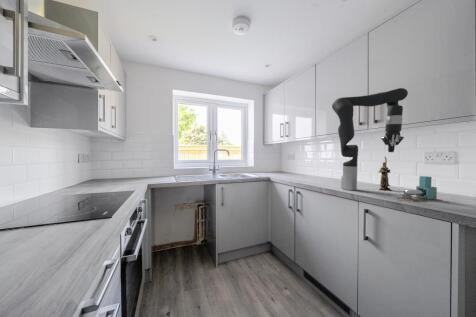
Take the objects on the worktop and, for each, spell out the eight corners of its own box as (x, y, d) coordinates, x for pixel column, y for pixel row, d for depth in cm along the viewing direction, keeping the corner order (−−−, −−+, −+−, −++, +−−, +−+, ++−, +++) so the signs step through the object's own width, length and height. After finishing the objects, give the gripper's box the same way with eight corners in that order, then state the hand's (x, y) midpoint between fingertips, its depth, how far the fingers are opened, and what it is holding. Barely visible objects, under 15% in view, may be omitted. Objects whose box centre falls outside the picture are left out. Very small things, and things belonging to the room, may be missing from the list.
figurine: (376, 189, 143) (377, 156, 143) (384, 188, 147) (385, 156, 147) (385, 191, 138) (386, 156, 137) (394, 190, 141) (395, 156, 141)
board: (411, 201, 106) (411, 200, 106) (397, 198, 114) (397, 197, 114) (442, 201, 108) (442, 199, 108) (426, 197, 116) (426, 196, 116)
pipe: (409, 199, 108) (409, 187, 108) (402, 198, 112) (402, 186, 112) (436, 199, 110) (437, 187, 110) (429, 197, 114) (429, 186, 114)
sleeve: (427, 199, 108) (428, 177, 108) (416, 196, 114) (416, 175, 114) (434, 199, 108) (434, 177, 108) (421, 196, 115) (422, 175, 115)
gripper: (388, 123, 111) (385, 152, 113) (410, 123, 111) (406, 152, 114) (378, 123, 118) (375, 151, 120) (398, 123, 119) (395, 151, 121)
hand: (390, 152), depth 117 cm, fingers closed
